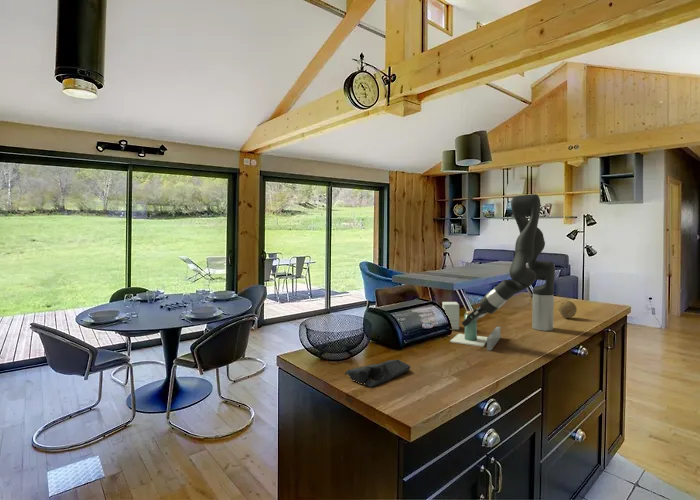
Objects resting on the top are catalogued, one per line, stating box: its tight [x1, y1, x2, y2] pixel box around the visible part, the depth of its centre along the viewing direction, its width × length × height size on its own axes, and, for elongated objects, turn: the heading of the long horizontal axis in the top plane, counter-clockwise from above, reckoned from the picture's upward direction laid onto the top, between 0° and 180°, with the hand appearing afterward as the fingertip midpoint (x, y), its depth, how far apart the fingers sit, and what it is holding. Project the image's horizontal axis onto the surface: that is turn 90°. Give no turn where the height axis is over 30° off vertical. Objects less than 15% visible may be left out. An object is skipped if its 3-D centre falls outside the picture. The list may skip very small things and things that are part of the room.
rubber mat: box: [449, 333, 488, 348], centre depth 171 cm, size 14×14×1 cm
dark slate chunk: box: [344, 359, 411, 388], centre depth 132 cm, size 15×22×5 cm
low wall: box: [486, 326, 502, 352], centre depth 166 cm, size 22×2×5 cm, turn 149°
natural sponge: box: [557, 299, 578, 319], centre depth 212 cm, size 9×9×10 cm
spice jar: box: [464, 310, 478, 341], centre depth 171 cm, size 5×5×12 cm
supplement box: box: [441, 301, 460, 330], centre depth 194 cm, size 7×7×13 cm
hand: (467, 323), depth 172 cm, fingers open, 8 cm apart
